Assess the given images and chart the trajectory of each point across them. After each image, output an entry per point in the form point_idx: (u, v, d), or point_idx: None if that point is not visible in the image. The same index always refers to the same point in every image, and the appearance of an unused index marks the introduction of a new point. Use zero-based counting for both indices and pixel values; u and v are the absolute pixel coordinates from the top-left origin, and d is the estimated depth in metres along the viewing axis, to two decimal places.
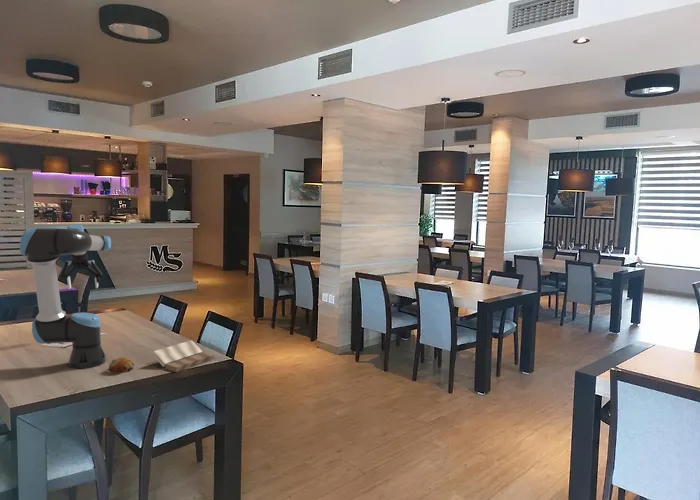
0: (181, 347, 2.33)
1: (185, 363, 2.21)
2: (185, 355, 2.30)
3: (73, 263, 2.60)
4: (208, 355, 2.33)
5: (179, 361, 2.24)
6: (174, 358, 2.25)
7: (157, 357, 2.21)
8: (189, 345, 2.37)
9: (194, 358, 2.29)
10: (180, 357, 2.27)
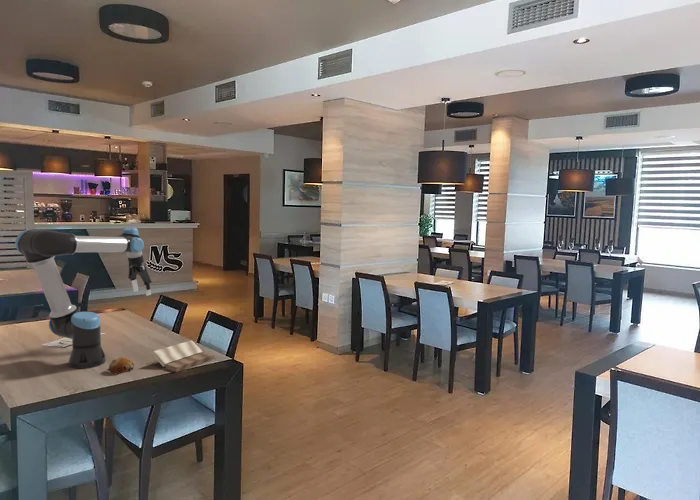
0: (181, 347, 2.33)
1: (185, 363, 2.21)
2: (185, 355, 2.30)
3: (132, 266, 2.64)
4: (208, 355, 2.33)
5: (179, 361, 2.24)
6: (174, 358, 2.25)
7: (157, 357, 2.21)
8: (189, 345, 2.37)
9: (194, 358, 2.29)
10: (180, 357, 2.27)
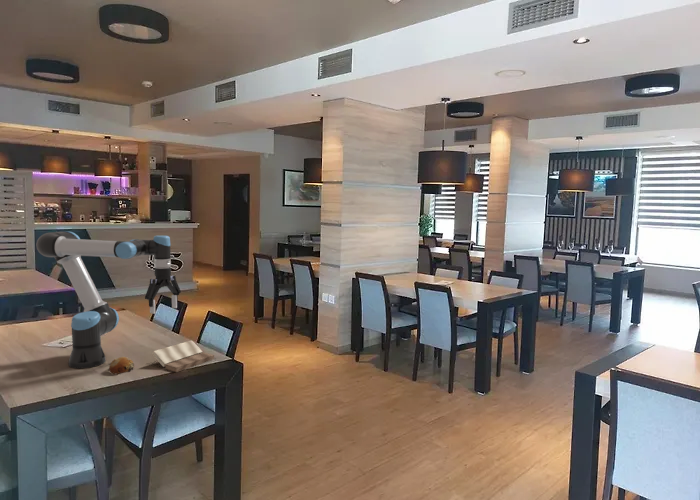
0: (181, 347, 2.33)
1: (185, 363, 2.21)
2: (185, 355, 2.30)
3: None
4: (208, 355, 2.33)
5: (179, 361, 2.24)
6: (174, 358, 2.25)
7: (157, 357, 2.21)
8: (189, 345, 2.37)
9: (194, 358, 2.29)
10: (180, 357, 2.27)
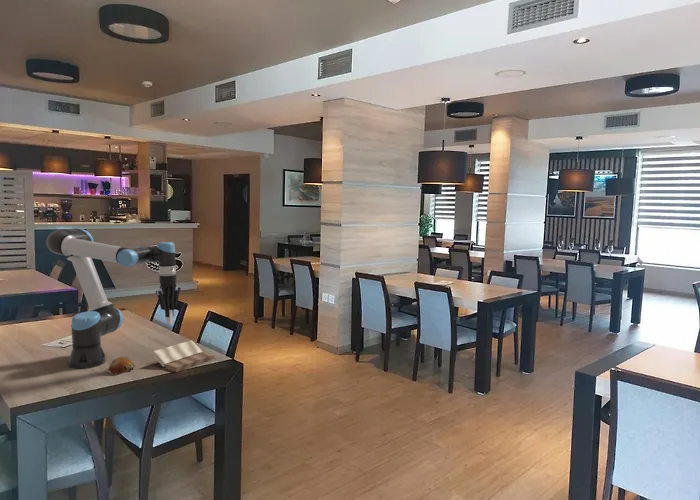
0: (181, 347, 2.33)
1: (185, 363, 2.21)
2: (185, 355, 2.30)
3: None
4: (208, 355, 2.33)
5: (179, 361, 2.24)
6: (174, 358, 2.25)
7: (157, 357, 2.21)
8: (189, 345, 2.37)
9: (194, 358, 2.29)
10: (180, 357, 2.27)
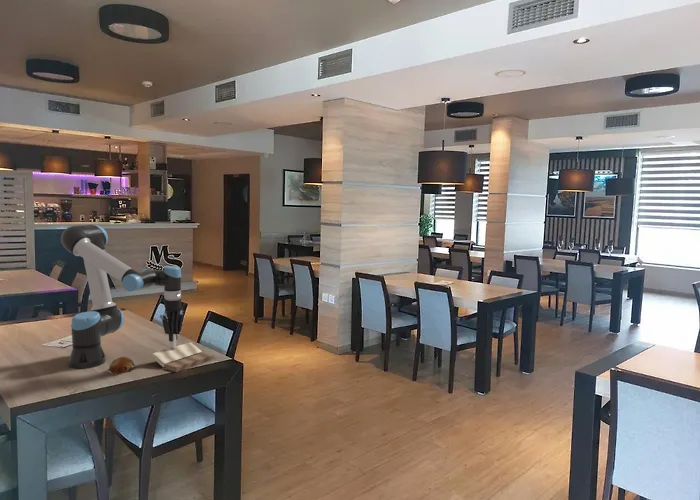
0: (180, 348, 2.34)
1: (185, 363, 2.21)
2: (184, 355, 2.30)
3: None
4: (208, 355, 2.33)
5: (179, 361, 2.24)
6: (173, 358, 2.25)
7: (156, 358, 2.22)
8: (188, 346, 2.38)
9: (194, 358, 2.29)
10: (179, 357, 2.27)
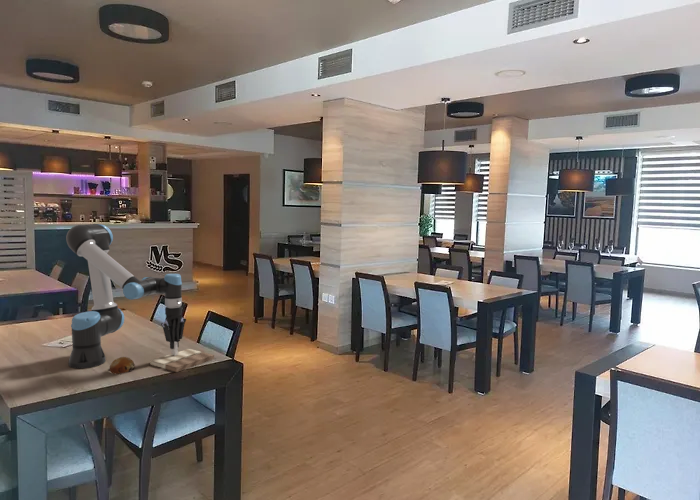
0: (178, 353, 2.35)
1: (185, 363, 2.21)
2: (183, 356, 2.31)
3: None
4: (208, 355, 2.33)
5: (179, 361, 2.24)
6: (172, 359, 2.25)
7: (155, 363, 2.22)
8: (186, 351, 2.39)
9: (194, 358, 2.29)
10: (178, 358, 2.28)
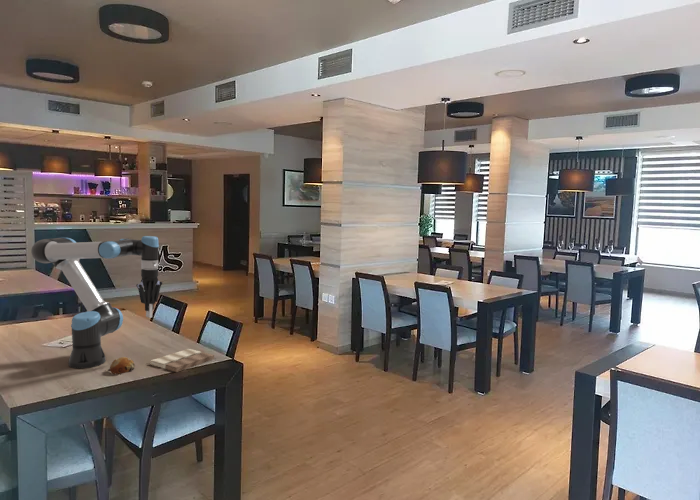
0: (178, 353, 2.35)
1: (185, 363, 2.21)
2: (183, 356, 2.31)
3: None
4: (208, 355, 2.33)
5: (179, 361, 2.24)
6: (172, 359, 2.25)
7: (155, 363, 2.22)
8: (186, 351, 2.39)
9: (194, 358, 2.29)
10: (178, 358, 2.28)
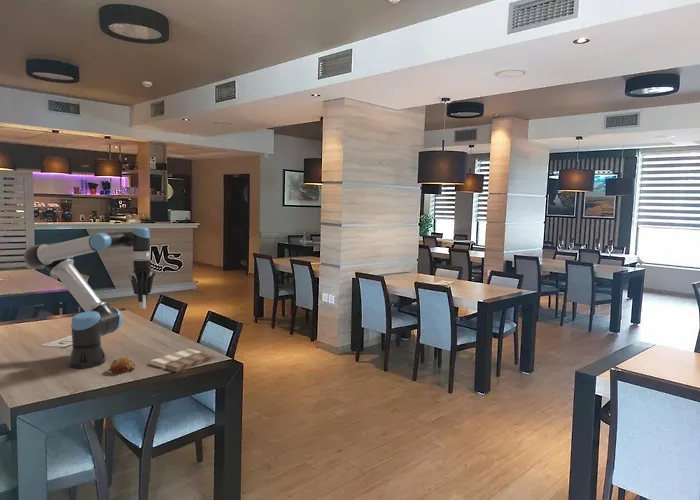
0: (178, 353, 2.35)
1: (185, 363, 2.21)
2: (183, 356, 2.31)
3: None
4: (208, 355, 2.33)
5: (179, 361, 2.24)
6: (172, 359, 2.25)
7: (155, 363, 2.22)
8: (186, 351, 2.39)
9: (194, 358, 2.29)
10: (178, 358, 2.28)
